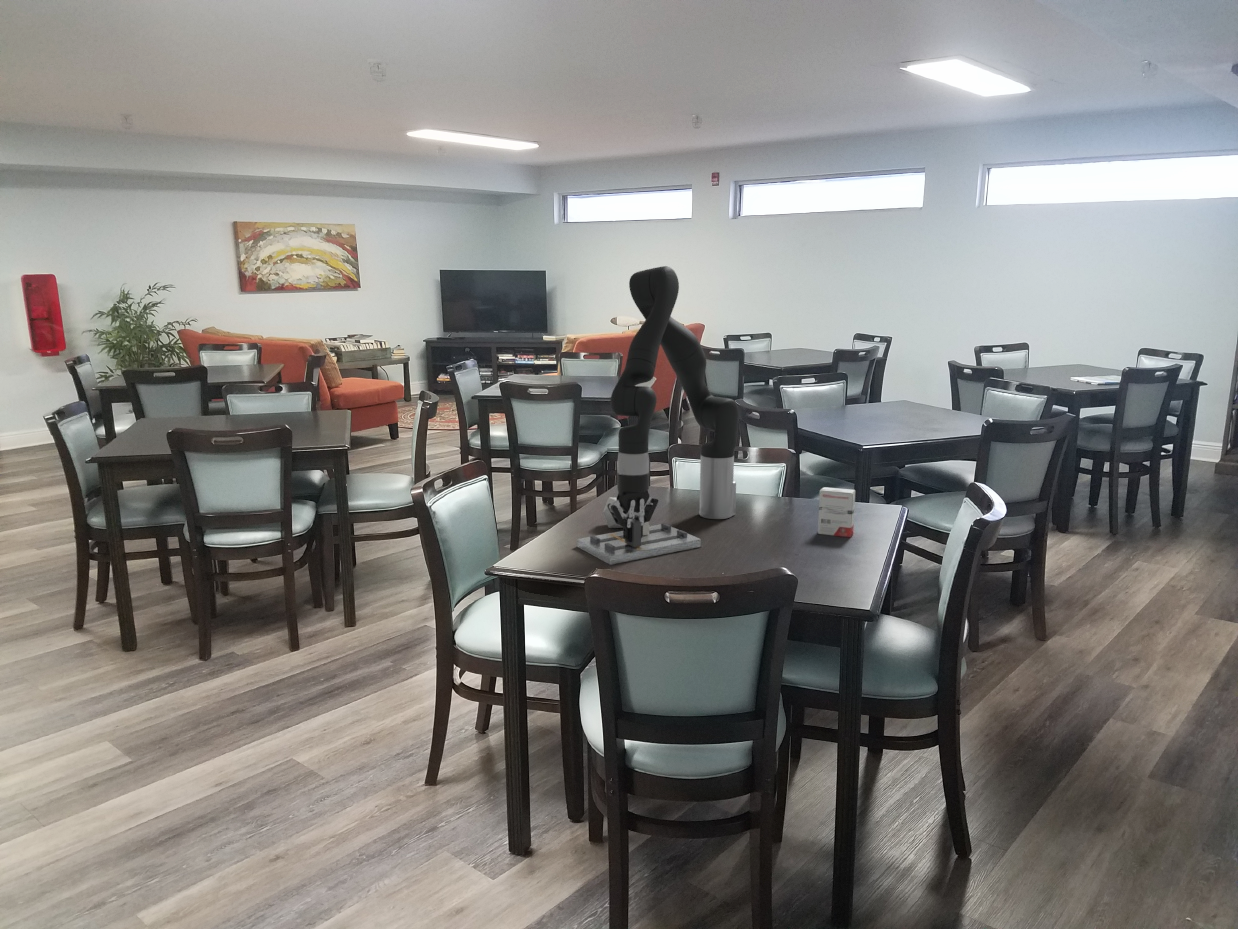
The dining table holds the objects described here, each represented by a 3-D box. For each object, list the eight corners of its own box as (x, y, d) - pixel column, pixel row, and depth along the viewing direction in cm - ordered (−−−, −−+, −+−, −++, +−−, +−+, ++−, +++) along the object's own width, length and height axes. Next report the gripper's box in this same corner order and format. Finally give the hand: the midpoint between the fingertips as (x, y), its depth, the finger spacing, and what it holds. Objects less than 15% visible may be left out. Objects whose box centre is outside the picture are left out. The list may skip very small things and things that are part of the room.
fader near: (632, 541, 205) (632, 517, 203) (641, 546, 201) (641, 521, 200) (625, 543, 204) (625, 519, 202) (633, 547, 200) (634, 523, 199)
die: (622, 535, 220) (642, 504, 221) (594, 518, 220) (614, 487, 222) (622, 537, 228) (640, 507, 229) (595, 520, 228) (613, 490, 230)
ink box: (854, 533, 220) (856, 489, 217) (850, 538, 215) (853, 493, 213) (820, 529, 223) (823, 485, 221) (816, 533, 219) (819, 489, 216)
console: (664, 530, 221) (664, 519, 221) (700, 546, 208) (701, 534, 207) (577, 546, 208) (577, 534, 207) (610, 564, 195) (610, 551, 194)
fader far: (640, 530, 214) (640, 507, 213) (649, 534, 211) (649, 511, 210) (633, 531, 213) (633, 508, 212) (642, 535, 210) (642, 512, 208)
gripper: (648, 464, 205) (648, 532, 209) (600, 470, 198) (600, 541, 202) (666, 470, 199) (665, 540, 203) (616, 476, 192) (616, 549, 196)
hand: (632, 540), depth 202 cm, fingers closed on fader near, 2 cm apart
